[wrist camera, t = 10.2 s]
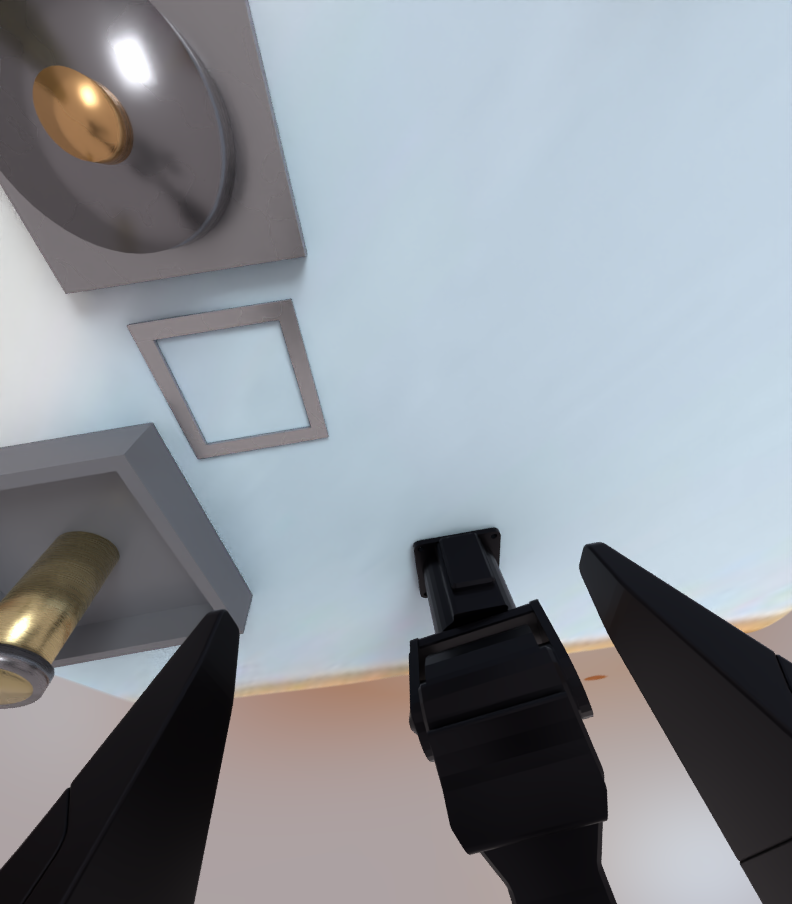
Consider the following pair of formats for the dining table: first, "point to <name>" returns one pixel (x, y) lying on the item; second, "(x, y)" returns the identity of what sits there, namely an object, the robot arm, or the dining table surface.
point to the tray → (119, 538)
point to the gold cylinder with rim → (48, 611)
